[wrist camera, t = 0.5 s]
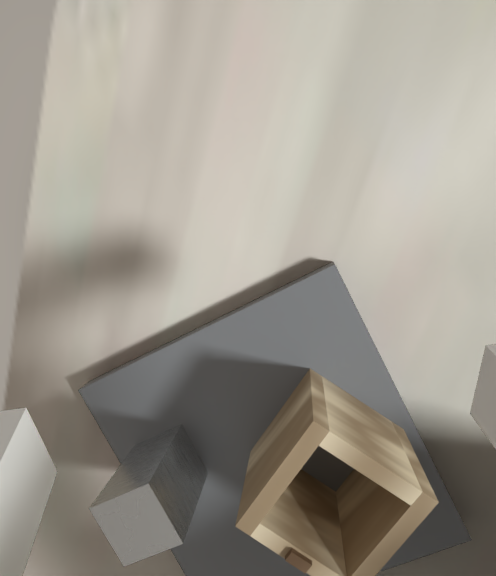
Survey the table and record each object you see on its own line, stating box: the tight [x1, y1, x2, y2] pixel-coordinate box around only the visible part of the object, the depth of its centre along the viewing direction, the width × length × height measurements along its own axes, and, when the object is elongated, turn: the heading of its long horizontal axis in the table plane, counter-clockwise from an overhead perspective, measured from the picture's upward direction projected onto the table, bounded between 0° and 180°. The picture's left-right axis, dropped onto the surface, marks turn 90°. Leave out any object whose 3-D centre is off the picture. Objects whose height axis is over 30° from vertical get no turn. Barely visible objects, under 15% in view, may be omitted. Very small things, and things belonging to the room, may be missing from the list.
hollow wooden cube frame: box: [235, 369, 439, 576], centre depth 24 cm, size 7×7×7 cm
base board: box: [78, 262, 472, 576], centre depth 29 cm, size 20×19×2 cm
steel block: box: [89, 424, 208, 567], centre depth 27 cm, size 4×4×8 cm
